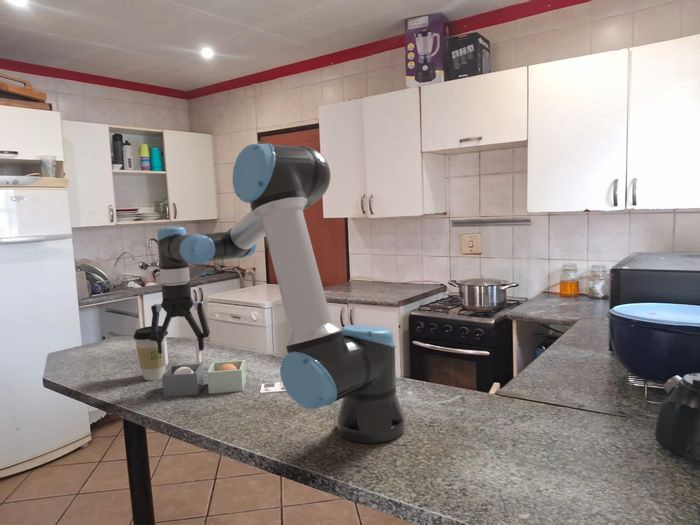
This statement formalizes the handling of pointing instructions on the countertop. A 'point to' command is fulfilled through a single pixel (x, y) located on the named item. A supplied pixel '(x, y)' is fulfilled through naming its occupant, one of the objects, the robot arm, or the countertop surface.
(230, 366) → the ball terracotta
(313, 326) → the robot arm
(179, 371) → the ball white
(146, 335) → the coffee cup
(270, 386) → the card
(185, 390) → the grey open cubby box
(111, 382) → the countertop surface
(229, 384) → the sage open box
